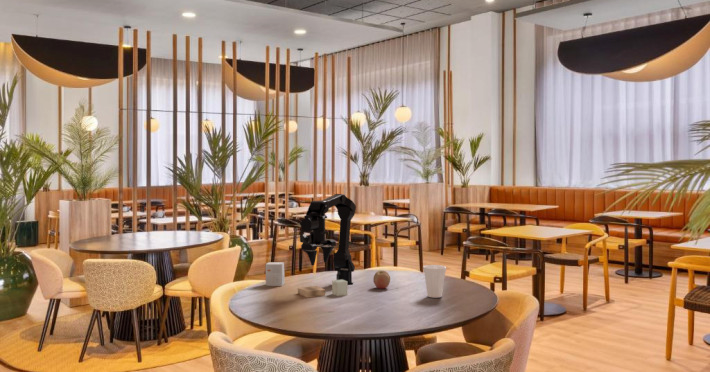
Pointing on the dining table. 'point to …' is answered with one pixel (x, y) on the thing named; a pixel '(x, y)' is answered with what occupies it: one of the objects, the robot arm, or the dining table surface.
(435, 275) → the cup
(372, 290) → the dining table surface
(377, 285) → the fruit
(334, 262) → the robot arm
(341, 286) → the sage cube
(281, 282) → the small box
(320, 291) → the oak block
